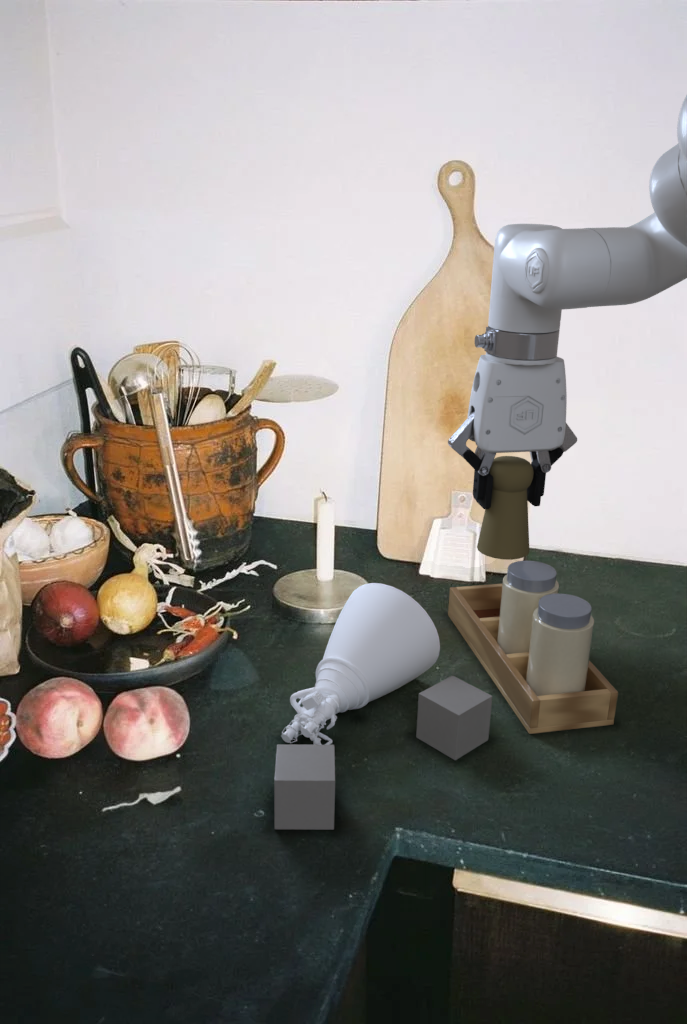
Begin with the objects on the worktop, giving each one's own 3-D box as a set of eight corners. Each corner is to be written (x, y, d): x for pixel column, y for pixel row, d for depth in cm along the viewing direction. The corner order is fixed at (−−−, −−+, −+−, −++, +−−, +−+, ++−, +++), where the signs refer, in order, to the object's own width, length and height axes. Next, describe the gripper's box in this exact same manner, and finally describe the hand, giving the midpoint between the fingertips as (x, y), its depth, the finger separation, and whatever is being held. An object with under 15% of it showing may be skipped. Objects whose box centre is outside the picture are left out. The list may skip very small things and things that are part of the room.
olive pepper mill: (476, 557, 106) (483, 465, 102) (477, 537, 112) (484, 449, 108) (530, 561, 106) (539, 469, 102) (528, 541, 111) (537, 452, 107)
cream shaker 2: (593, 712, 95) (606, 616, 91) (538, 718, 94) (549, 620, 90) (567, 681, 101) (579, 589, 97) (515, 687, 99) (525, 593, 95)
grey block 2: (488, 740, 91) (492, 695, 89) (455, 760, 88) (458, 715, 86) (449, 718, 95) (452, 675, 93) (415, 737, 91) (418, 693, 90)
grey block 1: (334, 829, 79) (335, 780, 77) (274, 829, 79) (274, 780, 77) (333, 791, 83) (334, 744, 82) (277, 791, 83) (277, 744, 81)
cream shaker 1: (558, 670, 103) (569, 579, 99) (507, 675, 101) (516, 584, 97) (537, 644, 108) (546, 557, 104) (487, 648, 107) (495, 560, 103)
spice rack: (516, 609, 118) (519, 581, 116) (613, 724, 94) (618, 692, 93) (447, 615, 116) (449, 587, 114) (529, 734, 92) (532, 701, 91)
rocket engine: (288, 673, 83) (391, 567, 96) (226, 704, 92) (329, 603, 104) (367, 773, 84) (460, 655, 96) (299, 794, 92) (393, 684, 105)
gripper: (457, 353, 95) (445, 520, 101) (611, 350, 98) (591, 511, 105) (434, 339, 102) (425, 496, 108) (580, 337, 105) (563, 489, 112)
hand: (507, 502), depth 107 cm, fingers closed on olive pepper mill, 5 cm apart
